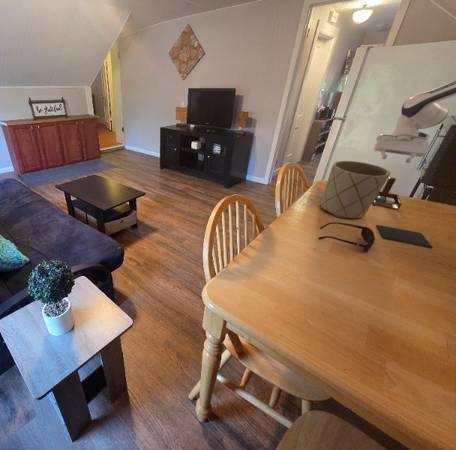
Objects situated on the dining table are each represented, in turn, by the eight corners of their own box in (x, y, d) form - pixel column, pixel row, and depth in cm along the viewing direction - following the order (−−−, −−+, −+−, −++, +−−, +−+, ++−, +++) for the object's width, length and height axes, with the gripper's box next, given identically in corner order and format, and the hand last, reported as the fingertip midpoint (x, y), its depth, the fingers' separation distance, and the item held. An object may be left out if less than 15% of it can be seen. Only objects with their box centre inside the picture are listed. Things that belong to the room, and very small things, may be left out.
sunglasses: (371, 257, 82) (378, 245, 80) (317, 242, 89) (322, 231, 87) (367, 238, 92) (373, 226, 89) (319, 226, 99) (323, 215, 96)
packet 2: (384, 199, 119) (385, 197, 118) (392, 201, 117) (393, 198, 116) (385, 202, 116) (386, 200, 115) (393, 204, 114) (394, 201, 114)
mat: (420, 234, 94) (421, 232, 94) (431, 248, 87) (432, 247, 86) (376, 225, 99) (376, 224, 99) (383, 238, 92) (383, 237, 91)
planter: (308, 201, 118) (323, 161, 107) (346, 200, 119) (365, 160, 108) (334, 222, 102) (355, 176, 91) (378, 221, 102) (404, 176, 92)
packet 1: (375, 197, 120) (376, 195, 120) (382, 199, 119) (384, 196, 118) (375, 200, 118) (377, 198, 117) (383, 202, 116) (385, 199, 115)
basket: (369, 193, 126) (379, 175, 121) (394, 198, 121) (405, 179, 116) (370, 204, 116) (381, 184, 111) (398, 209, 111) (410, 189, 106)
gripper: (380, 130, 127) (372, 153, 125) (434, 135, 117) (426, 160, 115) (375, 137, 132) (368, 159, 131) (426, 143, 122) (418, 167, 121)
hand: (395, 160), depth 123 cm, fingers open, 8 cm apart
